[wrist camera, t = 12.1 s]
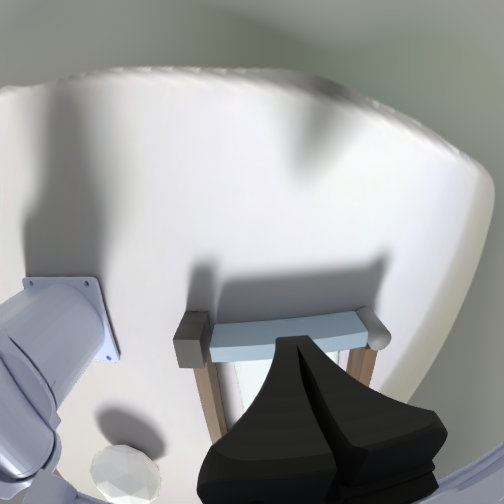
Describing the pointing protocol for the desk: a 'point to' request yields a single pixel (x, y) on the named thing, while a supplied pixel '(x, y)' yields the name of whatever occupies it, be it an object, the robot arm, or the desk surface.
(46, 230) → the desk surface
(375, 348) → the gate
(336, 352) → the external hard drive
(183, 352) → the bay
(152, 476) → the white faceted ball
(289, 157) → the desk surface
